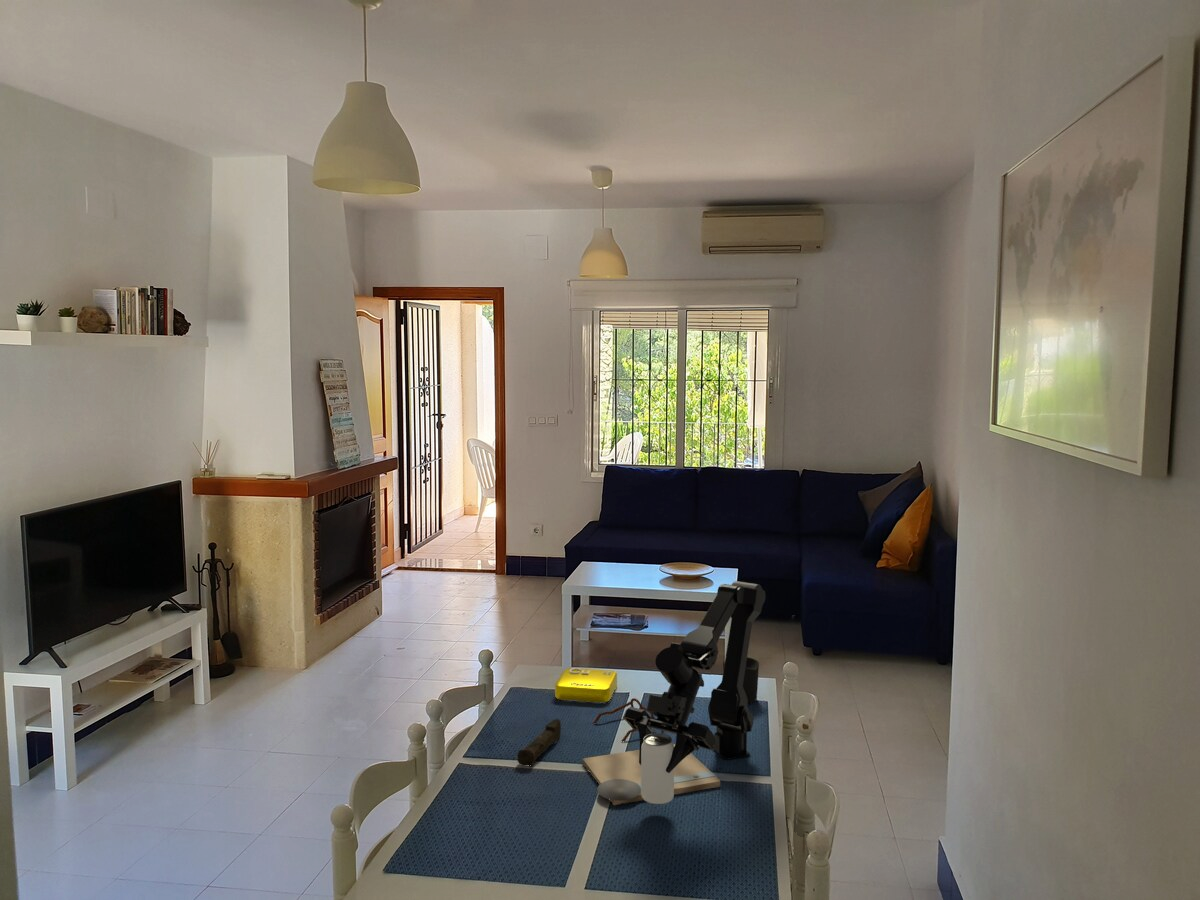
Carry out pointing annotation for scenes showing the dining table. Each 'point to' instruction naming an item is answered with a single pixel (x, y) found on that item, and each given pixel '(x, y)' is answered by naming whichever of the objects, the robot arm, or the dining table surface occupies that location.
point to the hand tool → (540, 743)
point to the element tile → (586, 685)
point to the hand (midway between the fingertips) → (653, 768)
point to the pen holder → (750, 679)
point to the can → (656, 769)
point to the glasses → (622, 708)
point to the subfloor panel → (624, 776)
